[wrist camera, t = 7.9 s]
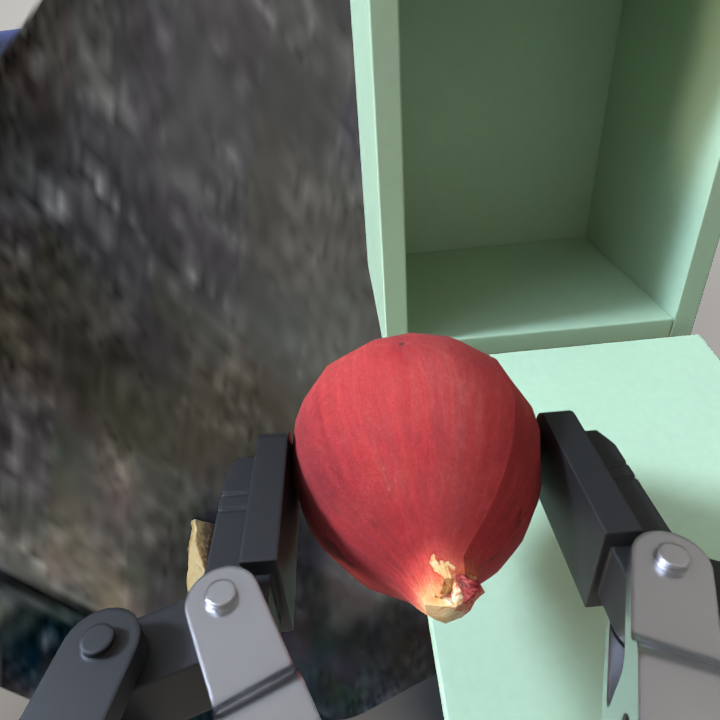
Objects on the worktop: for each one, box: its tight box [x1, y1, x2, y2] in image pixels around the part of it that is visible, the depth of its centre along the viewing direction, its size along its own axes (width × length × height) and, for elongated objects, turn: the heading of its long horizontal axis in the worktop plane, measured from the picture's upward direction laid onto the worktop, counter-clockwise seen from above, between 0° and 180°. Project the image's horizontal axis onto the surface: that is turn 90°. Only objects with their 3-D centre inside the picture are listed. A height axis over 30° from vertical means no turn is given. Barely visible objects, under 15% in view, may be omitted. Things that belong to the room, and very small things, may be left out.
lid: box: [427, 334, 720, 720], centre depth 19 cm, size 17×14×1 cm
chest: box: [350, 0, 720, 354], centre depth 26 cm, size 16×14×11 cm
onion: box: [292, 333, 542, 624], centre depth 13 cm, size 6×6×8 cm
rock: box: [187, 519, 215, 592], centre depth 47 cm, size 11×9×10 cm
